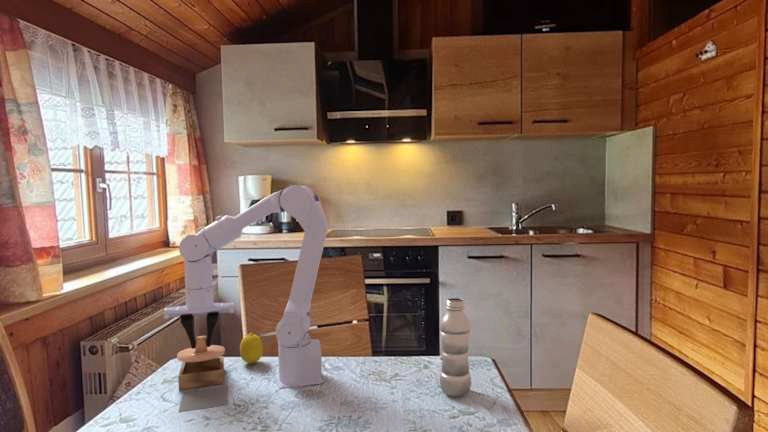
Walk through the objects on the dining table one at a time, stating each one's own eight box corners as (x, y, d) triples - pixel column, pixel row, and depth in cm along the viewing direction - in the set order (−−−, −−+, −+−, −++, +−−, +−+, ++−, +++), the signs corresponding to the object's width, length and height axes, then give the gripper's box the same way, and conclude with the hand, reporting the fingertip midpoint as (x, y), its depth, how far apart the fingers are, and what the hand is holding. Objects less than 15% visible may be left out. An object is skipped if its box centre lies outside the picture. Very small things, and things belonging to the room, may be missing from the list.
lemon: (257, 369, 110) (256, 337, 110) (235, 368, 112) (234, 336, 111) (267, 361, 116) (266, 330, 115) (247, 359, 117) (246, 328, 116)
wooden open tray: (224, 370, 110) (223, 356, 110) (223, 385, 102) (222, 370, 101) (183, 375, 107) (182, 361, 107) (178, 391, 99) (178, 376, 99)
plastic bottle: (477, 392, 97) (477, 299, 96) (459, 404, 92) (459, 305, 91) (451, 384, 101) (451, 294, 100) (433, 394, 96) (432, 300, 95)
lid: (225, 346, 110) (224, 329, 110) (224, 358, 100) (223, 340, 100) (179, 351, 107) (179, 334, 107) (174, 364, 97) (173, 345, 97)
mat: (227, 388, 101) (227, 386, 101) (227, 406, 92) (227, 404, 92) (183, 394, 98) (183, 392, 98) (178, 414, 89) (178, 412, 89)
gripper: (233, 281, 109) (234, 337, 110) (166, 285, 105) (168, 344, 106) (233, 287, 103) (235, 346, 103) (161, 292, 98) (164, 354, 99)
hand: (201, 346), depth 104 cm, fingers closed on lid, 3 cm apart
